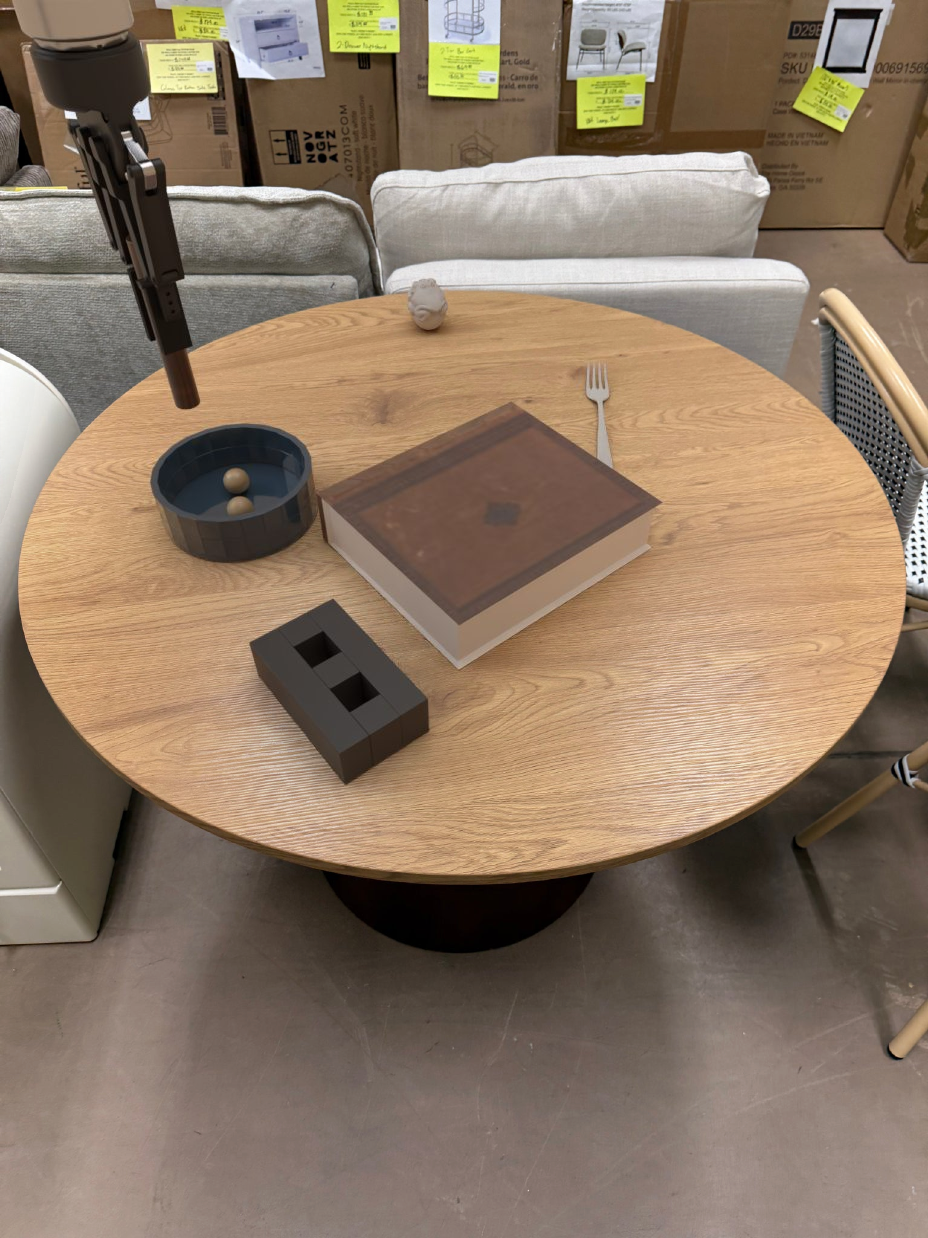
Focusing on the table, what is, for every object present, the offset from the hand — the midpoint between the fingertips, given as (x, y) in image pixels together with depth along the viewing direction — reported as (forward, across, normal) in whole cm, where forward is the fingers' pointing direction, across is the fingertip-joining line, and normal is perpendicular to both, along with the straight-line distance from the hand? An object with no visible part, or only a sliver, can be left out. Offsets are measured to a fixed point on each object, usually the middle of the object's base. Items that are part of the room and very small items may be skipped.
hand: (170, 341), depth 75 cm
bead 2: (+21, 0, -2) cm, 22 cm away
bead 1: (+21, +5, -4) cm, 22 cm away
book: (+24, -20, -23) cm, 38 cm away
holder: (+24, -28, +2) cm, 37 cm away
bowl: (+24, +2, -4) cm, 24 cm away
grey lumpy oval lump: (+24, +24, -46) cm, 57 cm away
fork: (+24, -10, -50) cm, 56 cm away
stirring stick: (+6, 0, 0) cm, 6 cm away
